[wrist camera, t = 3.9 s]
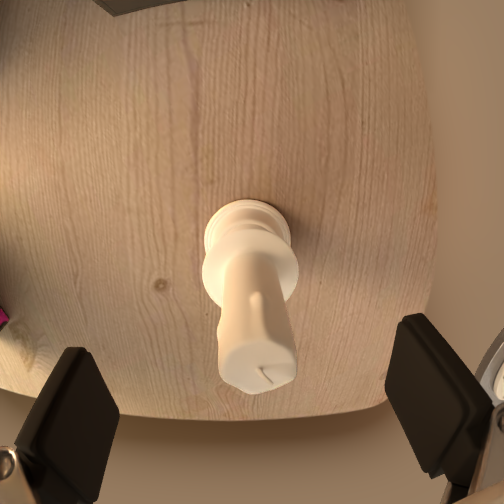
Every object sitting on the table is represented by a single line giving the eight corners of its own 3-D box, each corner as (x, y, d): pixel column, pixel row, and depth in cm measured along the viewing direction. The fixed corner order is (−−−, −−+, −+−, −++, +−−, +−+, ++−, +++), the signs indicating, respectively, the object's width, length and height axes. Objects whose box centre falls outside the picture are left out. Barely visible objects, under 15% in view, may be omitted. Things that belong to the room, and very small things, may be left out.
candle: (303, 216, 20) (381, 332, 8) (271, 289, 21) (300, 441, 10) (220, 186, 19) (195, 278, 8) (193, 264, 20) (154, 412, 9)
